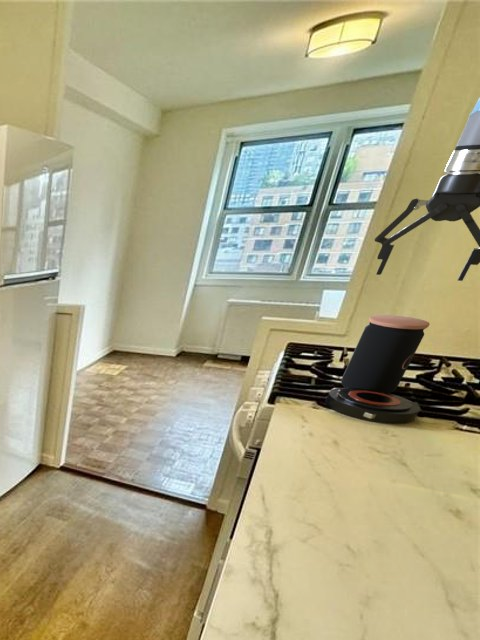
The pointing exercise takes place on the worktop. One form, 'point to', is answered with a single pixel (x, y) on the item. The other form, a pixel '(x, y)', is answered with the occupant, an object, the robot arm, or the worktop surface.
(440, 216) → the robot arm
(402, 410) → the hot plate
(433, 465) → the worktop surface
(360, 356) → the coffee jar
